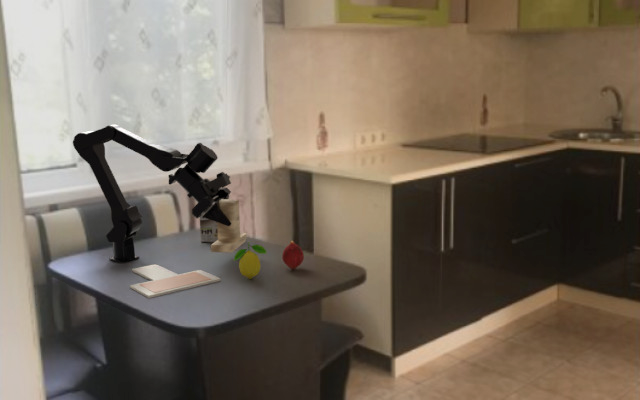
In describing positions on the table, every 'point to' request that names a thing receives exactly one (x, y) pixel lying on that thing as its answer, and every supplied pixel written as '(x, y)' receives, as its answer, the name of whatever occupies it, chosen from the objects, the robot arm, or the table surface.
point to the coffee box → (208, 229)
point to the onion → (293, 255)
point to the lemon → (249, 261)
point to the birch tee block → (229, 228)
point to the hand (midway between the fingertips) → (233, 223)
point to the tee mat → (169, 280)
